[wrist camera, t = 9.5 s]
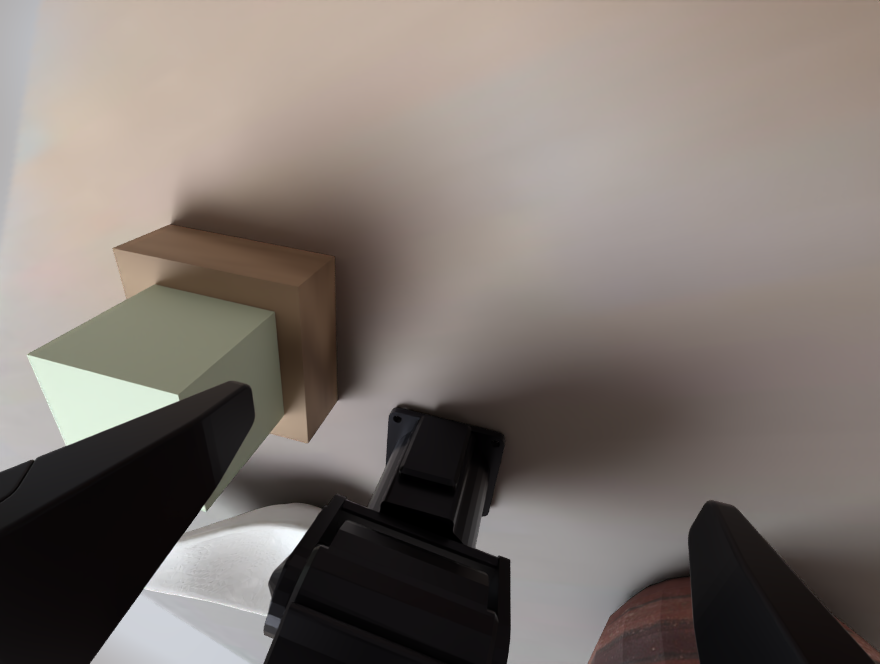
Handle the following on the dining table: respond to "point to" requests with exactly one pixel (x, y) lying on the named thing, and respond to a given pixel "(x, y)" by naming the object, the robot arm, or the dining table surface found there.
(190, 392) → the sage block
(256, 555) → the spoon rest
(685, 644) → the pottery
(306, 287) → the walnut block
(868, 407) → the dining table surface
